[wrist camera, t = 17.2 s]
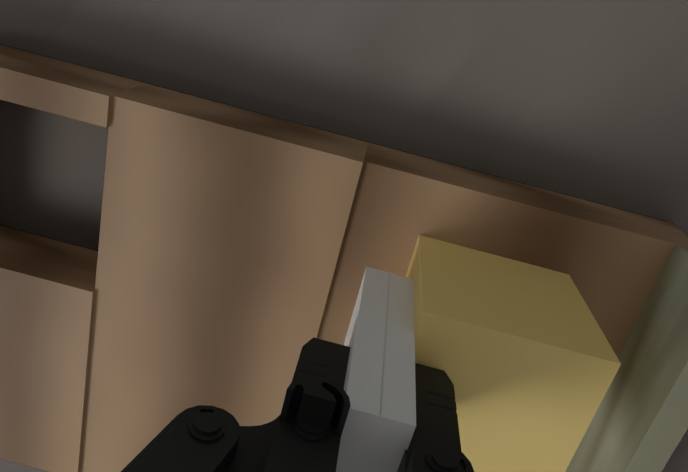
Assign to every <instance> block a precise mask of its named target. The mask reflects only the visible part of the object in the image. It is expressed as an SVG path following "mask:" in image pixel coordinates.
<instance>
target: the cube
mask: <svg viewBox="0 0 688 472" xmlns="http://www.w3.org/2000/svg"><path fill="white" fill-rule="evenodd" d="M406 277H408V278H411V279H413V291H414V336H415V363H418V364H421V365H425V366H429V367H433V368H436V369H440V370H444V371H445V372H446V374H447V375H448V377H449V378H450V380H451V381H452V383H453V385H454V391H455V401H456V408H457V411H456V413H457V417H458V426H459V434H460V443H461V451H462V453H464V455H465V456H466V457H467V458H468V460H469V461H470V462H471V464H472V467H473V470H474V472H565V471H566V469H567V467H568V465H569V463H570V461H571V459H572V458H573V456H574V454H575V452H576V450H577V448H578V446H579V444H580V442H581V440H582V438H583V436H584V434H585V433H586V431H587V429H588V427H589V425H590V423H591V421H592V419H593V417H594V415H595V413H596V411H597V409H598V407H599V406H600V404H601V402H602V400H603V398H604V396H605V394H606V392H607V390H608V388H609V386H610V384H611V382H612V381H613V379H614V377H615V375H616V373H617V371H618V369H619V367H620V365H621V363H620V361H619V359H618V358H617V356H616V354H615V353H614V351H613V349H612V347H611V346H610V344H609V342H608V341H607V339H606V337H605V335H604V334H603V332H602V330H601V328H600V327H599V325H598V323H597V322H596V320H595V318H594V316H593V315H592V313H591V311H590V310H589V308H588V306H587V304H586V303H585V301H584V299H583V297H582V296H581V294H580V292H579V291H578V289H577V287H576V285H575V284H574V282H573V280H572V279H571V277H570V275H569V274H565V273H561V272H558V271H554V270H550V269H546V268H543V267H539V266H535V265H531V264H528V263H524V262H520V261H516V260H512V259H509V258H505V257H501V256H497V255H494V254H490V253H486V252H482V251H478V250H475V249H471V248H467V247H463V246H460V245H456V244H452V243H448V242H444V241H441V240H437V239H433V238H429V237H426V236H422V235H419V236H418V240H417V243H416V246H415V249H414V252H413V255H412V258H411V261H410V265H409V268H408V271H407V274H406Z"/></svg>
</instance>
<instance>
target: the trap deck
mask: <svg viewBox="0 0 688 472" xmlns="http://www.w3.org/2000/svg"><path fill="white" fill-rule="evenodd" d="M0 100H4V101H8V102H11V103H15V104H19V105H23V106H26V107H30V108H34V109H38V110H42V111H45V112H49V113H53V114H57V115H60V116H64V117H68V118H72V119H75V120H79V121H83V122H87V123H90V124H94V125H98V126H102V127H105V128H107V127H109V128H108V140H107V152H106V164H105V176H104V188H103V199H102V211H101V223H100V235H99V247H98V251H95V250H91V249H87V248H84V247H80V246H76V245H72V244H68V243H65V242H61V241H57V240H53V239H50V238H46V237H42V236H38V235H35V234H31V233H27V232H23V231H20V230H16V229H12V228H8V227H4V226H1V225H0V459H3V460H6V461H10V462H14V463H18V464H22V465H25V466H29V467H33V468H37V469H40V470H44V471H48V472H121V471H122V470H123V469H124V468H125V467H126V466H127V465H128V464H129V463H130V462H131V461H132V460H133V459H134V458H135V457H136V456H137V455H138V454H139V453H140V452H141V451H142V450H143V449H144V448H145V447H146V446H147V445H148V444H149V443H150V442H151V441H152V440H153V439H154V438H155V437H156V436H157V435H158V434H159V433H160V432H161V431H162V430H163V429H164V428H165V427H166V426H167V425H168V424H169V423H170V422H171V421H172V420H173V419H174V418H175V417H176V416H177V415H178V414H180V413H181V412H183V411H184V410H186V409H187V408H191V407H195V406H198V405H206V406H215V407H218V408H222V409H224V410H226V411H227V412H229V413H230V414H232V415H233V416H234V417H235V419H236V420H237V422H238V423H239V426H258V425H263V424H266V423H269V422H271V421H273V420H275V419H276V418H277V417H278V416H279V415H280V414H281V411H282V407H283V403H284V399H285V395H286V391H287V388H288V387H289V385H290V384H291V382H292V379H293V376H294V373H295V369H296V366H297V363H298V360H299V356H300V353H301V349H302V346H303V345H305V344H306V343H307V342H308V341H310V340H311V339H312V338H313V337H314V338H318V339H322V340H326V341H329V342H333V343H337V344H341V345H344V342H345V338H346V335H347V331H348V328H349V324H350V321H351V317H352V314H353V310H354V307H355V303H356V300H357V297H358V293H359V290H360V286H361V283H362V279H363V276H364V272H365V269H366V267H370V268H374V269H377V270H381V271H385V272H389V273H392V274H396V275H400V276H404V277H406V274H407V271H408V268H409V265H410V261H411V258H412V255H413V252H414V249H415V246H416V243H417V240H418V236H419V235H422V236H426V237H429V238H433V239H437V240H441V241H444V242H448V243H452V244H456V245H460V246H463V247H467V248H471V249H475V250H478V251H482V252H486V253H490V254H494V255H497V256H501V257H505V258H509V259H512V260H516V261H520V262H524V263H528V264H531V265H535V266H539V267H543V268H546V269H550V270H554V271H558V272H561V273H565V274H569V275H570V277H571V279H572V280H573V282H574V284H575V285H576V287H577V289H578V291H579V292H580V294H581V296H582V297H583V299H584V301H585V303H586V304H587V306H588V308H589V310H590V311H591V313H592V315H593V316H594V318H595V320H596V322H597V323H598V325H599V327H600V328H601V330H602V332H603V334H604V335H605V337H606V339H607V341H608V342H609V344H610V346H611V347H612V349H613V351H614V353H615V354H616V356H617V358H618V359H619V361H620V363H621V365H620V367H619V369H618V371H617V373H616V375H615V377H614V379H613V381H612V382H611V384H610V386H609V388H608V390H607V392H606V394H605V396H604V398H603V400H602V402H601V404H600V406H599V407H598V409H597V411H596V413H595V415H594V417H593V419H592V421H591V423H590V425H589V427H588V429H587V431H586V433H585V434H584V436H583V438H582V440H581V442H580V444H579V446H578V448H577V450H576V452H575V454H574V456H573V458H572V459H571V461H570V463H569V465H568V467H567V469H566V471H565V472H662V470H663V468H664V467H665V465H666V463H667V462H668V460H669V458H670V457H671V455H672V454H673V452H674V450H675V449H676V447H677V445H678V444H679V442H680V440H681V439H682V437H683V435H684V434H685V432H686V431H687V429H688V236H687V235H686V234H685V233H684V232H683V231H681V230H680V229H679V228H678V227H677V226H676V225H674V224H673V223H669V222H666V221H662V220H658V219H654V218H650V217H647V216H643V215H639V214H635V213H632V212H628V211H624V210H620V209H617V208H613V207H609V206H605V205H602V204H598V203H594V202H590V201H587V200H583V199H579V198H575V197H572V196H568V195H564V194H560V193H557V192H553V191H549V190H545V189H541V188H538V187H534V186H530V185H526V184H523V183H519V182H515V181H511V180H508V179H504V178H500V177H496V176H493V175H489V174H485V173H481V172H478V171H474V170H470V169H466V168H463V167H459V166H455V165H451V164H447V163H444V162H440V161H436V160H432V159H429V158H425V157H421V156H417V155H414V154H410V153H406V152H402V151H399V150H395V149H391V148H387V147H384V146H380V145H376V144H372V143H369V142H365V141H361V140H357V139H354V138H350V137H346V136H342V135H338V134H335V133H331V132H327V131H323V130H320V129H316V128H312V127H308V126H305V125H301V124H297V123H293V122H290V121H286V120H282V119H278V118H275V117H271V116H267V115H263V114H260V113H256V112H252V111H248V110H244V109H241V108H237V107H233V106H229V105H226V104H222V103H218V102H214V101H211V100H207V99H203V98H199V97H196V96H192V95H188V94H184V93H181V92H177V91H173V90H169V89H166V88H162V87H158V86H154V85H151V84H147V83H143V82H139V81H135V80H132V79H128V78H124V77H120V76H117V75H113V74H109V73H105V72H102V71H98V70H94V69H90V68H87V67H83V66H79V65H75V64H72V63H68V62H64V61H60V60H57V59H53V58H49V57H45V56H41V55H38V54H34V53H30V52H26V51H23V50H19V49H15V48H11V47H8V46H4V45H0Z"/></svg>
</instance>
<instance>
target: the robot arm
mask: <svg viewBox="0 0 688 472" xmlns="http://www.w3.org/2000/svg"><path fill="white" fill-rule="evenodd" d="M456 411H457V408H456V401H455V391H454V385H453V383H452V381H451V380H450V378H449V377H448V375H447V374H446V372H445V371H444V370H440V369H436V368H433V367H429V366H425V365H421V364H418V363H415V336H414V291H413V279H411V278H408V277H404V276H400V275H396V274H392V273H389V272H385V271H381V270H377V269H374V268H370V267H366V269H365V272H364V276H363V279H362V283H361V286H360V290H359V293H358V297H357V300H356V303H355V307H354V310H353V314H352V317H351V321H350V324H349V328H348V331H347V335H346V338H345V342H344V345H341V344H337V343H333V342H329V341H326V340H322V339H318V338H314V337H313V338H312V339H311V340H310V341H308V342H307V343H306V344H305V345H303V346H302V349H301V353H300V356H299V360H298V363H297V366H296V369H295V373H294V376H293V379H292V382H291V384H290V385H289V387H288V388H287V391H286V395H285V399H284V403H283V407H282V411H281V414H280V415H279V416H278V417H277V418H276V419H275V420H273V421H271V422H269V423H266V424H263V425H258V426H239V423H238V422H237V420H236V419H235V417H234V416H233V415H232V414H230V413H229V412H227V411H226V410H224V409H222V408H218V407H215V406H206V405H198V406H195V407H191V408H187V409H186V410H184V411H183V412H181V413H180V414H178V415H177V416H176V417H175V418H174V419H173V420H172V421H171V422H170V423H169V424H168V425H167V426H166V427H165V428H164V429H163V430H162V431H161V432H160V433H159V434H158V435H157V436H156V437H155V438H154V439H153V440H152V441H151V442H150V443H149V444H148V445H147V446H146V447H145V448H144V449H143V450H142V451H141V452H140V453H139V454H138V455H137V456H136V457H135V458H134V459H133V460H132V461H131V462H130V463H129V464H128V465H127V466H126V467H125V468H124V469H123V470H122V471H121V472H474V470H473V467H472V464H471V462H470V461H469V460H468V458H467V457H466V456H465V455H464V453H462V451H461V443H460V434H459V426H458V417H457V413H456Z"/></svg>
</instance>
